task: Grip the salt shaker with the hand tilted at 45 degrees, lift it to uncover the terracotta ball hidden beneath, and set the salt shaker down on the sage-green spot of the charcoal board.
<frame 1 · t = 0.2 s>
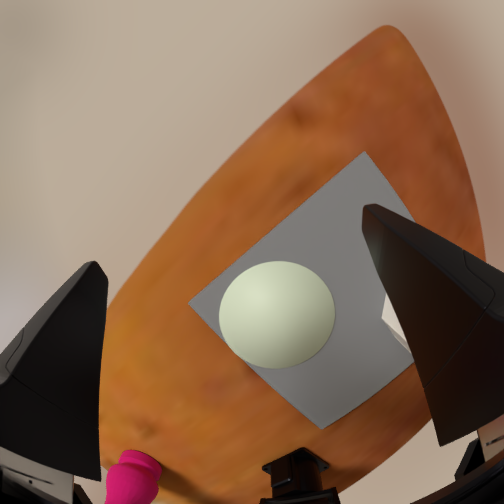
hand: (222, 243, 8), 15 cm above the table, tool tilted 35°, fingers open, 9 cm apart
pepper mill: (142, 461, 28), on the table
board: (346, 310, 24), on the table
salt shaker: (413, 303, 23), point 1 cm above the table, touching board
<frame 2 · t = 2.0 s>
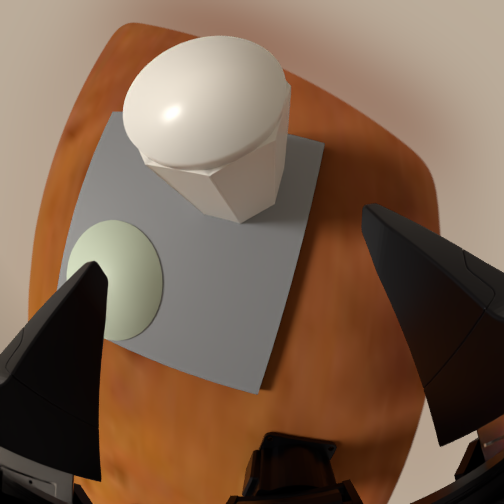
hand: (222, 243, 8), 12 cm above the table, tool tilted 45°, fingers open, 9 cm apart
board: (170, 234, 21), on the table
salt shaker: (235, 175, 20), point 1 cm above the table, touching board
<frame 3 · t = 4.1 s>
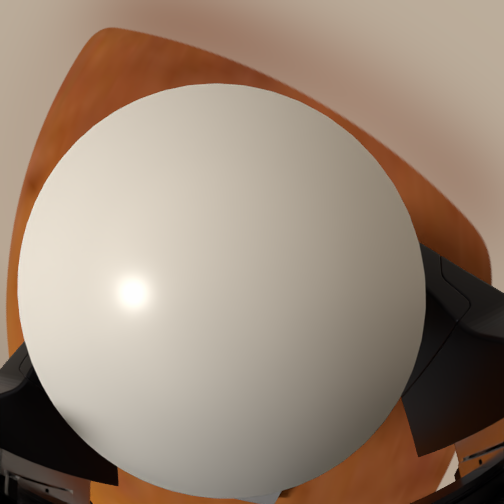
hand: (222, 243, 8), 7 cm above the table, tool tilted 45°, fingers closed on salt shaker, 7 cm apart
salt shaker: (248, 282, 14), point 1 cm above the table, touching board, gripper
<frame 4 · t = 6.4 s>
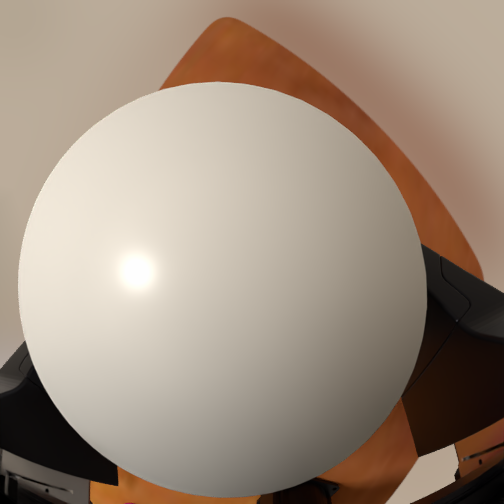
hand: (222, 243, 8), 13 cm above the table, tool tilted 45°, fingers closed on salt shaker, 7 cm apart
salt shaker: (248, 281, 14), point 7 cm above the table, touching gripper
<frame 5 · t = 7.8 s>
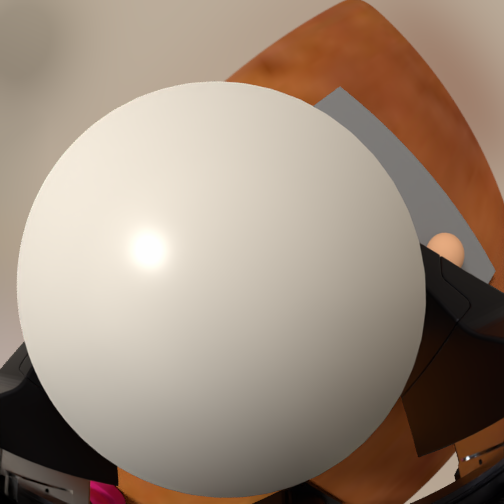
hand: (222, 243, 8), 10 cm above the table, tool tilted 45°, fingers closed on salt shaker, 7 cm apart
ball: (444, 254, 15), point 2 cm above the table, touching board
pepper mill: (103, 489, 19), on the table
board: (346, 269, 18), on the table
salt shaker: (248, 281, 14), point 4 cm above the table, touching gripper
when the fingers open (8 cm above the table, at t = 8.9 s): salt shaker stays where it is, resting on board.
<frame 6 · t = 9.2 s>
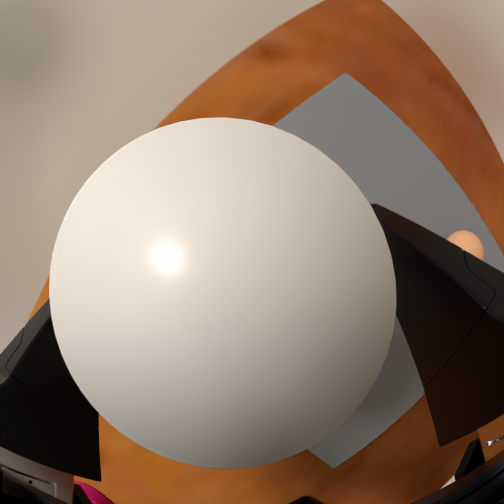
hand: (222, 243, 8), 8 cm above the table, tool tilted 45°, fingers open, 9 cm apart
ball: (463, 254, 13), point 2 cm above the table, touching board
pepper mill: (95, 499, 16), on the table
board: (355, 271, 16), on the table
salt shaker: (249, 282, 15), point 1 cm above the table, touching board
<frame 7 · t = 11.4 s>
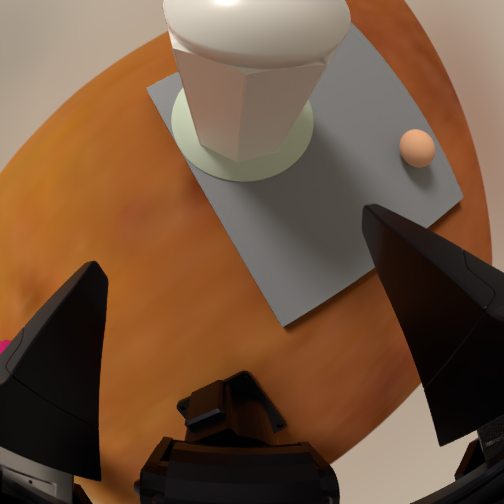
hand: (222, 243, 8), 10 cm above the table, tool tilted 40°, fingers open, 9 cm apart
ball: (417, 148, 17), point 2 cm above the table, touching board
board: (326, 137, 19), on the table
salt shaker: (243, 113, 17), point 1 cm above the table, touching board
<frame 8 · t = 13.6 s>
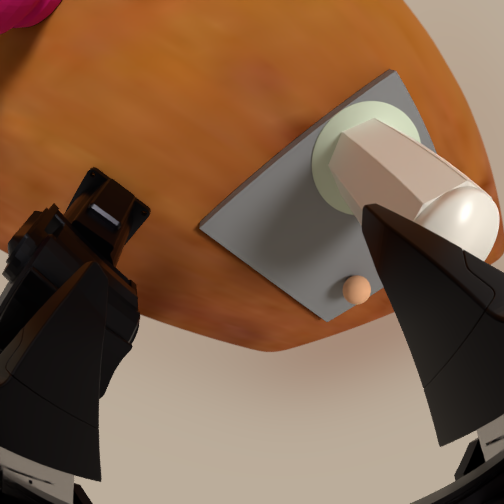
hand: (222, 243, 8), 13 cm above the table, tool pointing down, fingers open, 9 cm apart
ball: (356, 289, 27), point 2 cm above the table, touching board
board: (357, 221, 24), on the table
salt shaker: (371, 162, 19), point 1 cm above the table, touching board
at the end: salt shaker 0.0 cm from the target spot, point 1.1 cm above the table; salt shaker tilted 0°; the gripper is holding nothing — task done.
